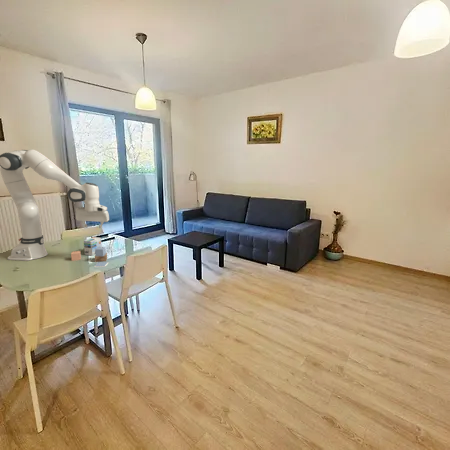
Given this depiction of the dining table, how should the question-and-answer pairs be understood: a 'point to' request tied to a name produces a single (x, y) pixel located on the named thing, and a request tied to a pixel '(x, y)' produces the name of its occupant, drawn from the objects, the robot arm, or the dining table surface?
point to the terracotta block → (76, 255)
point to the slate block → (100, 251)
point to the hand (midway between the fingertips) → (93, 227)
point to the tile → (101, 264)
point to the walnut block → (101, 258)
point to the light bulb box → (91, 245)
